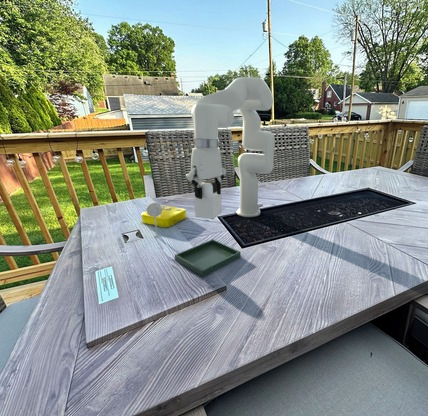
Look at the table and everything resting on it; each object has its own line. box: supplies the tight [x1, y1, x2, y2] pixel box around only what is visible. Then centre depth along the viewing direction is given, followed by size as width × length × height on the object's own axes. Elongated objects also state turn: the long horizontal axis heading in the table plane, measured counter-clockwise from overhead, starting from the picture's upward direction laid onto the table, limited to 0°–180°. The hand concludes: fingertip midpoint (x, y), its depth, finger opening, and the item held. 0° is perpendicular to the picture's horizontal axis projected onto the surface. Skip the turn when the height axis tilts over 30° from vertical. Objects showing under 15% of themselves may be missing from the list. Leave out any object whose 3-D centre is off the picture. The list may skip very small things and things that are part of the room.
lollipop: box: [145, 201, 162, 238], centre depth 105 cm, size 6×6×15 cm
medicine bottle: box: [193, 180, 223, 220], centre depth 92 cm, size 7×7×12 cm
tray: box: [174, 238, 242, 278], centre depth 94 cm, size 17×15×2 cm
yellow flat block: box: [141, 204, 187, 228], centre depth 124 cm, size 15×15×5 cm
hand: (208, 195), depth 91 cm, fingers closed on medicine bottle, 7 cm apart
